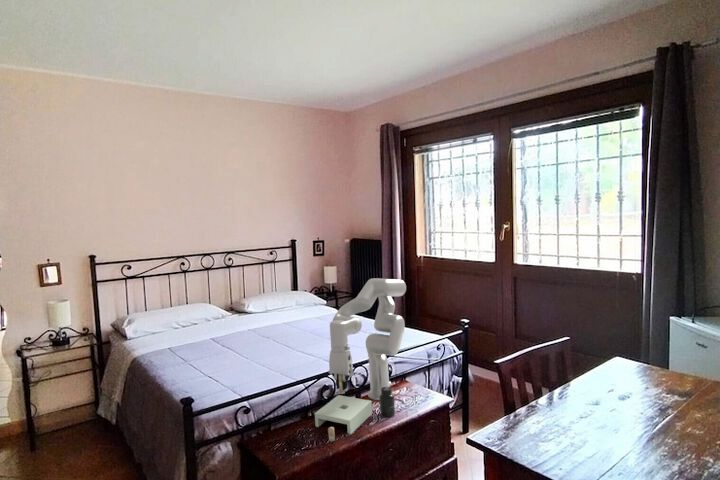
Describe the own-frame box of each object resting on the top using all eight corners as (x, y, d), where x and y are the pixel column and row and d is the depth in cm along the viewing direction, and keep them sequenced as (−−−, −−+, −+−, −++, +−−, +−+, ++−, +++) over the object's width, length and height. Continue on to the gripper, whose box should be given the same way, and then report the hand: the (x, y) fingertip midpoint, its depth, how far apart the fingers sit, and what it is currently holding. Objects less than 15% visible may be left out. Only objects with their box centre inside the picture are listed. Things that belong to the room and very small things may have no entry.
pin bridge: (339, 407, 209) (338, 395, 209) (372, 413, 200) (371, 400, 200) (315, 426, 192) (314, 413, 191) (350, 434, 183) (349, 420, 182)
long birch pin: (341, 391, 196) (339, 367, 196) (346, 392, 195) (344, 368, 195) (338, 393, 194) (336, 369, 194) (343, 394, 193) (341, 370, 192)
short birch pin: (331, 438, 181) (330, 426, 181) (336, 439, 180) (335, 427, 179) (327, 440, 179) (326, 429, 178) (332, 442, 177) (331, 430, 177)
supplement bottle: (394, 418, 195) (392, 392, 194) (379, 417, 196) (377, 391, 195) (396, 410, 201) (394, 385, 201) (381, 410, 203) (380, 385, 202)
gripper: (359, 347, 193) (361, 387, 194) (328, 344, 201) (331, 382, 202) (350, 352, 186) (353, 394, 188) (319, 349, 194) (322, 389, 195)
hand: (342, 388), depth 195 cm, fingers closed on long birch pin, 2 cm apart
